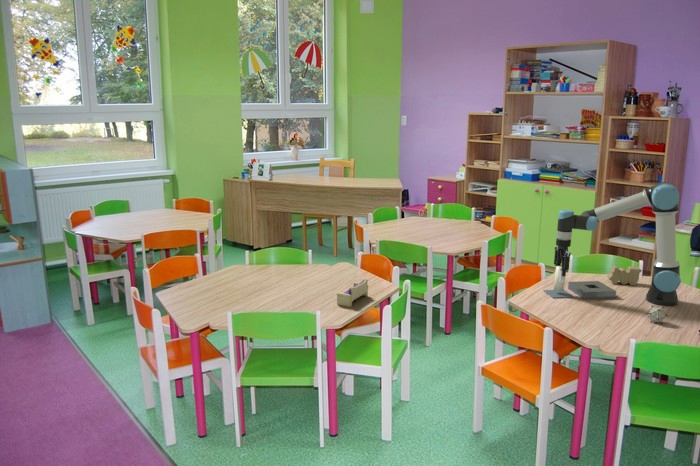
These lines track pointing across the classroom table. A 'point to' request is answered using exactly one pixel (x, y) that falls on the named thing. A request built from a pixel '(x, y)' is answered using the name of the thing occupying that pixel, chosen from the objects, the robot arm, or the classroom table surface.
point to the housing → (591, 290)
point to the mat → (558, 294)
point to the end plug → (558, 280)
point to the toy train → (624, 275)
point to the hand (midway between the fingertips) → (559, 279)
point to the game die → (657, 314)
